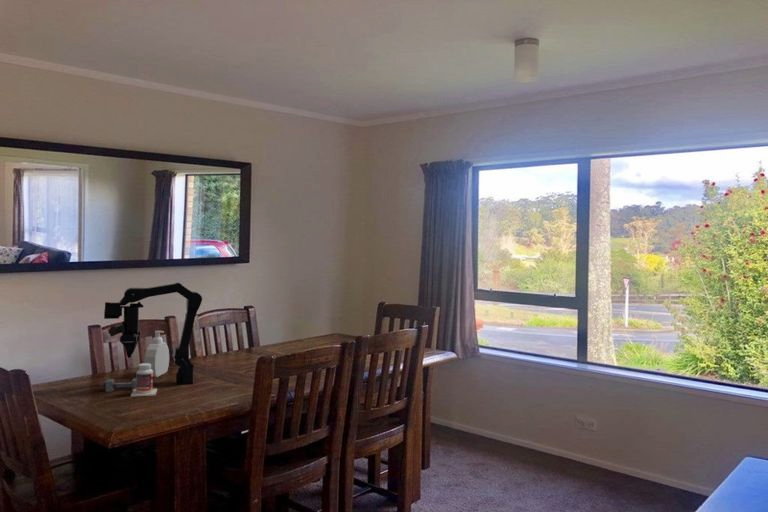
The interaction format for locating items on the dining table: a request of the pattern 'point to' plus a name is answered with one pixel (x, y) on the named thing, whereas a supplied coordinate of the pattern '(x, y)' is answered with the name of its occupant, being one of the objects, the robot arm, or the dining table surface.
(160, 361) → the soap bottle
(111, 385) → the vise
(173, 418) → the dining table surface
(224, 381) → the dining table surface
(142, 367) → the pill bottle
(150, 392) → the coaster
